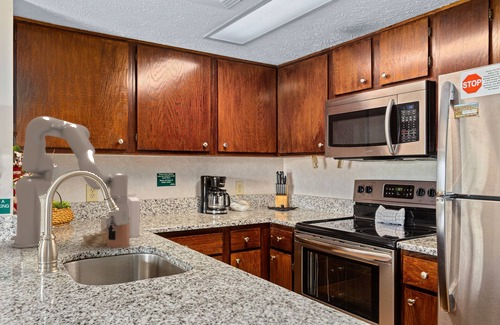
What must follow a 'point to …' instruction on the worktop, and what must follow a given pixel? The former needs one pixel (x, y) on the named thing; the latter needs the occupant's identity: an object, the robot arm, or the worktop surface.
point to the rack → (97, 236)
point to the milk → (134, 215)
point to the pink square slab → (119, 237)
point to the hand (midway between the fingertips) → (118, 237)
